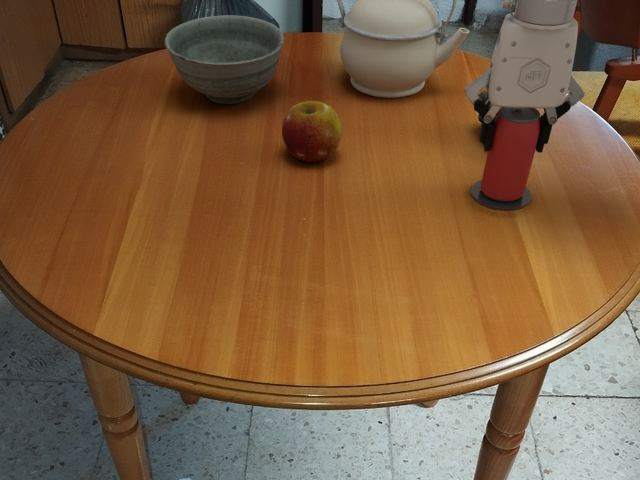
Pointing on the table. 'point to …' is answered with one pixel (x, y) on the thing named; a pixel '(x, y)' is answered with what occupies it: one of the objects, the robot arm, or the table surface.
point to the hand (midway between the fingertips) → (511, 146)
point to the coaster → (499, 205)
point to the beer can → (511, 153)
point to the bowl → (226, 55)
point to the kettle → (394, 45)
